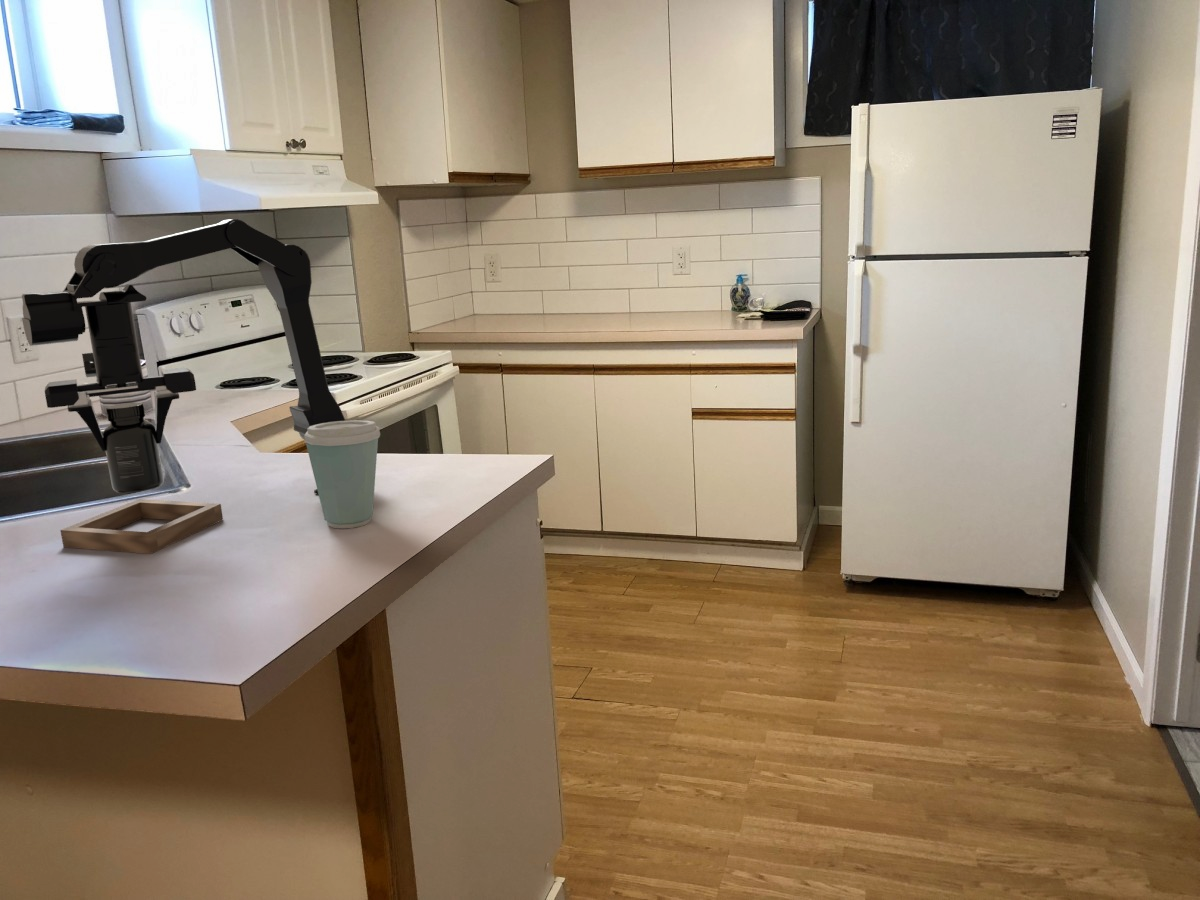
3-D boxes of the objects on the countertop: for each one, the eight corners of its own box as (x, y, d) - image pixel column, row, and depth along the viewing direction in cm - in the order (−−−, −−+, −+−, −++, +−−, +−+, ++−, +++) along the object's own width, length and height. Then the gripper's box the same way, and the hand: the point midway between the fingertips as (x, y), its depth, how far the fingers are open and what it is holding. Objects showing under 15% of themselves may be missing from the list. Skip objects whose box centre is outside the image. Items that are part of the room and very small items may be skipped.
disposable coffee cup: (309, 518, 145) (297, 419, 142) (381, 506, 149) (372, 410, 146) (319, 538, 136) (306, 433, 132) (396, 526, 140) (386, 423, 136)
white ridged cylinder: (163, 409, 238) (155, 360, 235) (119, 418, 229) (111, 367, 226) (135, 405, 244) (127, 358, 241) (91, 414, 235) (83, 365, 232)
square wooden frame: (223, 519, 146) (220, 503, 146) (150, 553, 133) (147, 536, 132) (141, 514, 151) (139, 499, 150) (63, 547, 137) (60, 530, 136)
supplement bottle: (175, 481, 142) (162, 401, 139) (139, 495, 136) (125, 411, 133) (138, 479, 144) (124, 400, 142) (101, 492, 138) (86, 409, 135)
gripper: (180, 325, 146) (196, 427, 150) (38, 338, 138) (58, 445, 142) (188, 332, 136) (204, 441, 140) (35, 346, 128) (57, 461, 132)
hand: (131, 446), depth 139 cm, fingers closed on supplement bottle, 7 cm apart
